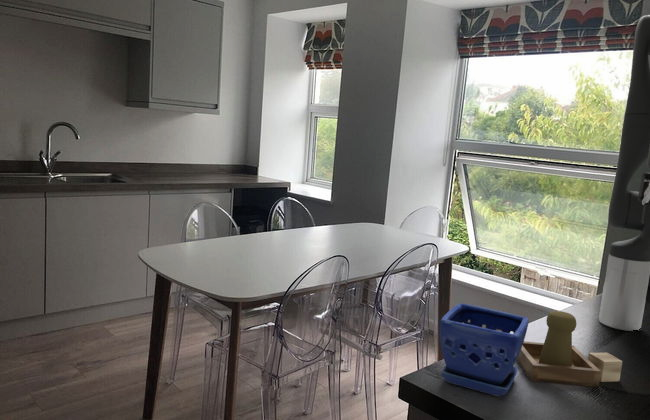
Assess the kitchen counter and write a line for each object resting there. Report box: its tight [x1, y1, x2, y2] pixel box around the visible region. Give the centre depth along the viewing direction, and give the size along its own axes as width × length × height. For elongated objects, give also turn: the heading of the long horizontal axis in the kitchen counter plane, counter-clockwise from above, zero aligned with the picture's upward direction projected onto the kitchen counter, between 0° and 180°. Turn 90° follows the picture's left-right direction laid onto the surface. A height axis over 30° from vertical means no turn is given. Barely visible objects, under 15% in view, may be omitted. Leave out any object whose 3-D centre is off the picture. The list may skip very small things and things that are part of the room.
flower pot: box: [439, 303, 530, 397], centre depth 96 cm, size 13×13×12 cm
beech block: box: [587, 352, 624, 383], centre depth 103 cm, size 4×4×4 cm
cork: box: [538, 310, 577, 367], centre depth 103 cm, size 6×6×11 cm
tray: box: [516, 340, 601, 388], centre depth 104 cm, size 12×12×3 cm
